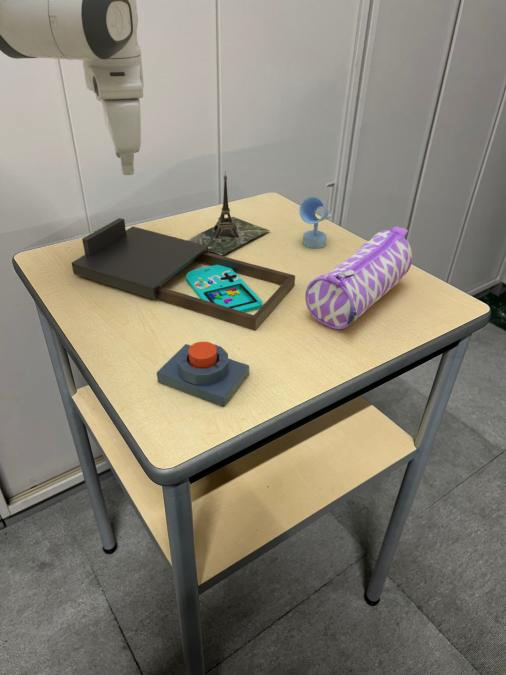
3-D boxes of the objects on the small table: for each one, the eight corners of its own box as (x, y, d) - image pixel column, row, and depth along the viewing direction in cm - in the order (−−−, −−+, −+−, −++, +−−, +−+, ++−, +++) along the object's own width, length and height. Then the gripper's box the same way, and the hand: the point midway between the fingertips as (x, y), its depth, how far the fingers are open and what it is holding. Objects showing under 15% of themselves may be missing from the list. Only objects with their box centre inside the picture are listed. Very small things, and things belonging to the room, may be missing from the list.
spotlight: (318, 253, 98) (331, 239, 103) (323, 203, 92) (337, 191, 97) (294, 247, 100) (308, 234, 105) (298, 197, 94) (313, 186, 99)
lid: (73, 274, 89) (67, 246, 86) (133, 236, 101) (130, 211, 98) (154, 299, 83) (151, 271, 80) (208, 256, 95) (207, 230, 92)
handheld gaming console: (225, 261, 93) (264, 302, 82) (225, 266, 94) (264, 308, 83) (181, 271, 90) (216, 315, 79) (182, 276, 90) (216, 320, 80)
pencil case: (349, 343, 76) (358, 287, 70) (296, 320, 80) (301, 266, 74) (410, 283, 90) (422, 233, 84) (362, 266, 94) (370, 218, 89)
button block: (157, 382, 68) (155, 361, 66) (186, 353, 73) (185, 333, 71) (223, 407, 64) (223, 386, 62) (249, 375, 69) (249, 354, 67)
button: (183, 364, 66) (182, 353, 65) (198, 348, 69) (198, 338, 68) (207, 372, 65) (207, 362, 64) (222, 357, 67) (221, 346, 66)
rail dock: (77, 274, 90) (75, 264, 89) (131, 240, 101) (130, 231, 99) (255, 330, 78) (255, 319, 76) (294, 285, 88) (295, 275, 87)
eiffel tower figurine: (221, 259, 96) (220, 188, 88) (182, 243, 100) (177, 175, 92) (270, 232, 105) (273, 166, 97) (231, 218, 110) (231, 155, 102)
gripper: (88, 64, 87) (100, 148, 95) (98, 89, 72) (111, 186, 80) (126, 63, 89) (134, 146, 97) (144, 87, 73) (152, 183, 82)
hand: (124, 164), depth 88 cm, fingers open, 8 cm apart
